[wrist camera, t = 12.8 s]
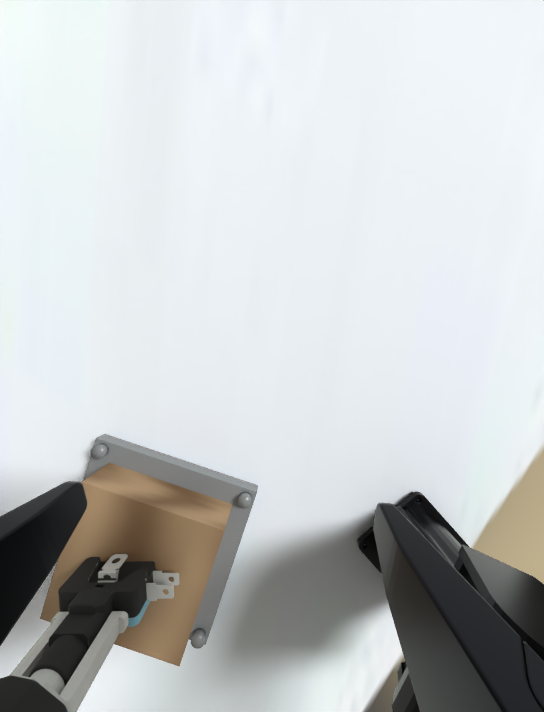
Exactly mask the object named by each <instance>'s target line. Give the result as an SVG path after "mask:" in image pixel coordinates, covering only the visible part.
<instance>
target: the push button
mask: <svg viewBox="0 0 544 712" xmlns="http://www.w3.org/2000/svg"><path fill="white" fill-rule="evenodd" d="M127 557H128V556H127V554H115V555H113V556H111V557H110V558H109V560H108V561H107V562H100V557H89V558H87V559H86V560H84V562H83V563H82V564H81V565H80V566H79V567H78V568H77V569H76V571H75V572H74V573H73V574H72V575H71V576H70V577H69V578H68V579H67V581H66V582H65V583H64V584H63V585H62V586H61V587H60V588H59V590H58V594H59V608H60V612H58V613H57V614H56V615H55V616H54V617H53V619H52V620H51V625H50V626H49V628H48V629H47V630H46V631H45V632H44V634H43V635H42V636H41V637H40V639H39V640H38V641H37V642H36V644H35V645H34V646H33V647H32V648H31V650H30V651H29V652H28V653H27V655H26V656H25V657H24V658H23V660H22V661H21V662H20V663H19V664H18V666H17V667H16V668H15V669H14V671H13V672H12V673H11V674H10V676H7V677H4V678H1V679H0V712H76V711H77V710H78V708H79V706H80V704H81V702H82V701H83V699H84V697H85V695H86V693H87V691H88V690H89V688H90V686H91V684H92V682H93V681H94V679H95V677H96V675H97V673H98V671H99V670H100V668H101V666H102V664H103V662H104V661H105V659H106V657H107V655H108V653H109V651H110V650H111V648H112V646H113V644H114V642H115V641H116V639H117V637H118V635H119V633H123V632H124V631H125V629H126V627H134V626H136V625H138V624H139V622H140V621H141V619H142V617H143V615H144V613H145V611H146V609H147V607H148V605H149V603H150V601H157V599H172V598H173V597H174V586H173V585H179V573H162V571H155V562H154V561H133V562H124V561H125V560H126V559H127ZM118 558H119V559H120V561H119V562H112V561H113V560H115V559H118ZM169 577H173V578H174V581H173V582H171V581H169ZM164 589H167V590H168V591H169V593H168V594H164V593H163V590H164Z"/></svg>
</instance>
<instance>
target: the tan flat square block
mask: <svg viewBox="0 0 544 712" xmlns="http://www.w3.org/2000/svg"><path fill="white" fill-rule="evenodd" d="M81 483H82V484H83V487H84V490H85V494H86V498H87V508H86V511H85V513H84V514H83V516H82V518H81V520H80V521H79V523H78V525H77V527H76V528H75V530H74V532H73V534H72V535H71V537H70V539H69V541H68V543H67V544H66V546H65V548H64V550H63V551H62V553H61V555H60V557H59V558H58V561H57V564H56V567H55V571H54V574H53V577H52V581H51V584H50V587H49V591H48V594H47V597H46V600H45V604H44V607H43V610H42V614H41V617H40V619H43V620H46V621H49V622H51V620H52V619H53V617H54V616H55V615H56V614H57V613H58V612H60V608H59V594H58V590H59V588H60V587H61V586H62V585H63V584H64V583H65V582H66V581H67V579H68V578H69V577H70V576H71V575H72V574H73V573H74V572H75V571H76V569H77V568H78V567H79V566H80V565H81V564H82V563H83V562H84V560H86V559H87V558H89V557H100V562H107V561H108V560H109V558H110V557H111V556H113V555H115V554H127V556H128V557H127V559H126V560H125V561H124V562H133V561H154V562H155V571H162V573H179V585H173V586H174V597H173V598H172V599H157V601H150V603H149V605H148V607H147V609H146V611H145V613H144V615H143V617H142V619H141V621H140V622H139V624H138V625H136V626H134V627H126V629H125V631H124V632H123V633H119V635H118V637H117V639H116V641H115V642H114V644H116V645H119V646H122V647H125V648H127V649H130V650H133V651H136V652H139V653H142V654H145V655H148V656H151V657H154V658H157V659H159V660H162V661H165V662H168V663H171V664H174V665H177V666H180V663H181V660H182V657H183V654H184V651H185V648H186V645H187V642H188V639H189V636H190V633H191V630H192V627H193V624H194V621H195V618H196V615H197V612H198V609H199V606H200V603H201V600H202V597H203V594H204V591H205V588H206V585H207V582H208V579H209V576H210V573H211V570H212V567H213V564H214V561H215V558H216V555H217V552H218V549H219V546H220V543H221V540H222V537H223V534H224V531H225V527H226V524H227V520H228V517H229V514H230V510H231V507H232V504H230V503H227V502H225V501H222V500H219V499H216V498H213V497H210V496H207V495H204V494H201V493H198V492H195V491H192V490H189V489H186V488H183V487H180V486H177V485H174V484H171V483H168V482H165V481H162V480H159V479H156V478H153V477H151V476H148V475H145V474H142V473H139V472H136V471H133V470H130V469H127V468H124V467H121V466H118V465H115V464H112V463H108V464H107V465H105V466H104V467H102V468H101V469H99V470H98V471H97V472H95V473H94V474H92V475H91V476H89V477H88V478H87V479H85V480H84V481H82V482H81ZM119 561H120V559H119V558H118V559H115V560H113V561H112V562H119ZM169 581H171V582H173V581H174V578H173V577H169ZM163 593H164V594H168V593H169V591H168V590H167V589H164V590H163Z"/></svg>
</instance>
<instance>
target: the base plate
mask: <svg viewBox="0 0 544 712" xmlns="http://www.w3.org/2000/svg"><path fill="white" fill-rule="evenodd" d="M108 463H112V464H115V465H118V466H121V467H124V468H127V469H130V470H133V471H136V472H139V473H142V474H145V475H148V476H151V477H153V478H156V479H159V480H162V481H165V482H168V483H171V484H174V485H177V486H180V487H183V488H186V489H189V490H192V491H195V492H198V493H201V494H204V495H207V496H210V497H213V498H216V499H219V500H222V501H225V502H227V503H230V504H232V507H231V510H230V514H229V517H228V520H227V524H226V527H225V531H224V534H223V537H222V540H221V543H220V546H219V549H218V552H217V555H216V558H215V561H214V564H213V567H212V570H211V573H210V576H209V579H208V582H207V585H206V588H205V591H204V594H203V597H202V600H201V603H200V606H199V609H198V612H197V615H196V618H195V621H194V624H193V627H192V630H191V633H190V636H189V639H190V640H191V645H192V646H193V647H194V648H201V647H202V646H203V645H204V644H206V642H207V639H208V636H209V633H210V630H211V627H212V624H213V621H214V618H215V615H216V612H217V609H218V606H219V603H220V600H221V597H222V594H223V591H224V588H225V585H226V582H227V579H228V576H229V573H230V570H231V567H232V564H233V562H234V559H235V556H236V553H237V550H238V547H239V544H240V541H241V538H242V535H243V532H244V529H245V526H246V523H247V520H248V517H249V514H250V511H251V508H252V505H253V502H254V499H255V496H256V493H257V488H258V485H255V484H252V483H249V482H246V481H243V480H240V479H237V478H234V477H231V476H228V475H225V474H222V473H219V472H216V471H213V470H210V469H207V468H204V467H201V466H198V465H195V464H192V463H189V462H186V461H183V460H180V459H178V458H175V457H172V456H169V455H166V454H163V453H160V452H157V451H154V450H151V449H148V448H145V447H142V446H139V445H136V444H133V443H130V442H127V441H124V440H121V439H118V438H115V437H112V436H109V435H106V434H104V435H102V436H100V437H98V438H96V442H95V445H94V447H93V448H92V450H91V458H90V461H89V465H88V468H87V471H86V475H85V478H84V480H85V479H87V478H88V477H89V476H91V475H92V474H94V473H95V472H97V471H98V470H99V469H101V468H102V467H104V466H105V465H107V464H108Z"/></svg>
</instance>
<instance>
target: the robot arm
mask: <svg viewBox="0 0 544 712" xmlns="http://www.w3.org/2000/svg"><path fill="white" fill-rule="evenodd" d="M417 498H420V500H419V501H416V500H417ZM86 508H87V498H86V494H85V490H84V487H83V484H82V483H81V482H73V481H68V482H65V483H63V484H61V485H59V486H57V487H55V488H53V489H52V490H50V491H48V492H46V493H44V494H42V495H40V496H38V497H36V498H35V499H33V500H31V501H29V502H27V503H25V504H23V505H21V506H19V507H18V508H16V509H14V510H12V511H10V512H8V513H6V514H4V515H2V516H1V517H0V646H1V644H2V643H3V641H4V640H5V638H6V637H7V635H8V634H9V632H10V631H11V629H12V628H13V626H14V625H15V623H16V622H17V620H18V619H19V617H20V616H21V614H22V613H23V611H24V610H25V608H26V607H27V605H28V604H29V603H30V601H31V600H32V598H33V597H34V595H35V594H36V592H37V591H38V589H39V588H40V586H41V585H42V583H43V582H44V580H45V579H46V577H47V576H48V574H49V573H50V571H51V570H52V568H53V567H54V565H55V563H56V562H57V560H58V558H59V557H60V555H61V553H62V551H63V550H64V548H65V546H66V544H67V543H68V541H69V539H70V537H71V535H72V534H73V532H74V530H75V528H76V527H77V525H78V523H79V521H80V520H81V518H82V516H83V514H84V513H85V511H86ZM357 543H358V546H359V549H360V550H361V551H362V552H363V553H364V555H365V556H366V557H367V558H368V559H369V560H370V561H371V562H372V564H373V565H374V566H375V567H376V568H377V569H378V570H379V571H380V572H381V574H382V576H383V581H384V586H385V591H386V595H387V599H388V603H389V607H390V610H391V613H392V617H393V620H394V624H395V627H396V630H397V634H398V637H399V641H400V644H401V648H402V651H403V654H404V658H405V662H402V663H401V665H400V666H399V668H398V671H397V673H398V685H397V687H396V689H395V692H394V698H393V703H392V709H393V712H544V584H542V583H541V582H540V581H539V580H537V579H536V578H534V577H533V576H530V575H529V574H526V573H524V572H522V571H520V570H518V569H516V568H513V567H511V566H509V565H507V564H505V563H502V562H500V561H498V560H496V559H494V558H492V557H489V556H487V555H485V554H483V553H480V552H479V551H476V550H474V549H472V548H470V547H469V546H468V545H467V544H466V543H465V541H464V540H463V539H462V538H461V537H460V536H459V535H458V534H457V532H456V531H455V530H454V529H453V528H452V527H451V526H450V525H449V523H448V522H447V521H446V520H445V519H444V518H443V517H442V516H441V514H440V513H439V512H438V511H437V510H436V509H435V508H434V507H433V505H432V504H431V503H430V502H429V501H428V500H427V499H426V498H425V496H424V495H423V494H422V493H420V492H414V493H413V494H411V495H410V496H409V497H408V498H407V499H405V500H404V501H403V502H402V503H401V504H399V505H398V506H397V507H395V506H394V505H393V504H390V503H378V505H377V507H376V513H375V518H374V526H373V527H372V528H370V529H369V530H368V531H367V532H366V533H364V534H363V535H362V536H361V537H360V538H359V539H358V541H357ZM363 543H367V544H366V545H362V544H363Z"/></svg>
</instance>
